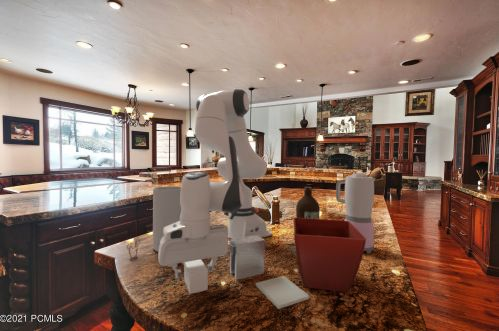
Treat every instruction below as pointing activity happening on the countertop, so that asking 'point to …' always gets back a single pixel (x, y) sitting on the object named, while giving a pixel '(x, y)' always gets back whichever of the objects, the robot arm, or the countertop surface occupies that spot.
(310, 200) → the olive oil
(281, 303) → the sage mat
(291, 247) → the tactical tomahawk
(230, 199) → the robot arm
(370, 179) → the blender
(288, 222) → the countertop surface
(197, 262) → the off-white cardboard box
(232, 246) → the bar
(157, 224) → the cylinder vase
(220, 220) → the countertop surface
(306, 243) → the plant pot
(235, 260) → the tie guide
